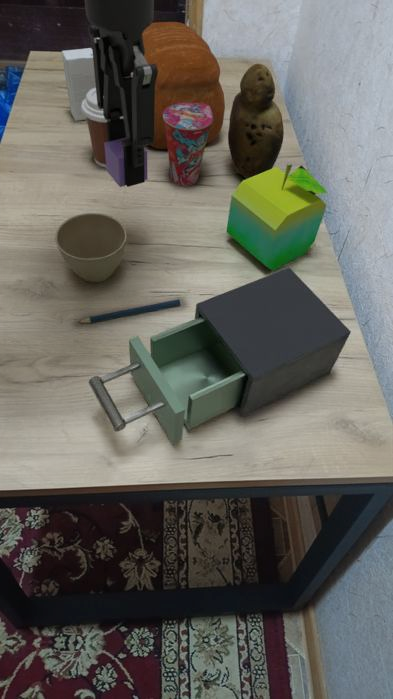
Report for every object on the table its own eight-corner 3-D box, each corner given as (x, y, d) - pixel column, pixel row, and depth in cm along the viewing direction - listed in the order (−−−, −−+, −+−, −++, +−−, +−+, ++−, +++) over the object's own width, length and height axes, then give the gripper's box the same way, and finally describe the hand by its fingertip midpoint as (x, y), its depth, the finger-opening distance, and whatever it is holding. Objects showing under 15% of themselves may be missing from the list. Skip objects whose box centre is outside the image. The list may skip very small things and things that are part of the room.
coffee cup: (119, 140, 98) (115, 78, 89) (144, 163, 94) (143, 100, 85) (78, 153, 95) (70, 90, 85) (102, 177, 90) (96, 113, 81)
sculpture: (218, 157, 97) (231, 47, 81) (259, 155, 99) (279, 47, 83) (234, 199, 89) (252, 86, 73) (278, 196, 91) (305, 85, 75)
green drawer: (125, 468, 56) (122, 439, 50) (85, 393, 62) (78, 359, 56) (265, 398, 63) (276, 365, 57) (218, 336, 69) (224, 301, 63)
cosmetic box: (97, 107, 105) (91, 47, 96) (103, 117, 103) (97, 56, 94) (69, 111, 104) (60, 50, 94) (74, 121, 101) (66, 59, 92)
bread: (194, 95, 112) (200, 9, 99) (227, 145, 100) (239, 56, 87) (119, 101, 108) (114, 13, 94) (144, 155, 96) (142, 63, 82)
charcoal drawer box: (241, 418, 62) (253, 378, 55) (191, 347, 68) (196, 303, 61) (329, 373, 67) (351, 331, 60) (275, 311, 73) (289, 267, 66)
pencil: (180, 306, 73) (79, 327, 69) (178, 302, 73) (77, 321, 70) (180, 302, 72) (78, 323, 69) (178, 298, 73) (76, 317, 69)
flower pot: (54, 259, 77) (46, 222, 71) (114, 243, 80) (111, 206, 74) (75, 302, 72) (68, 266, 66) (138, 283, 75) (137, 247, 69)
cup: (202, 194, 89) (207, 132, 80) (156, 186, 90) (157, 123, 80) (211, 166, 95) (217, 105, 85) (168, 159, 96) (170, 96, 86)
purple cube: (106, 170, 71) (104, 142, 68) (133, 163, 73) (132, 135, 69) (119, 187, 69) (118, 158, 66) (147, 179, 71) (147, 151, 67)
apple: (264, 275, 78) (284, 194, 66) (225, 240, 82) (237, 159, 70) (311, 250, 82) (338, 170, 70) (271, 218, 87) (290, 138, 75)
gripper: (190, 4, 49) (179, 200, 68) (114, -49, 58) (123, 138, 76) (123, 13, 47) (130, 215, 65) (53, -44, 55) (78, 149, 74)
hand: (126, 173), depth 71 cm, fingers closed on purple cube, 4 cm apart
